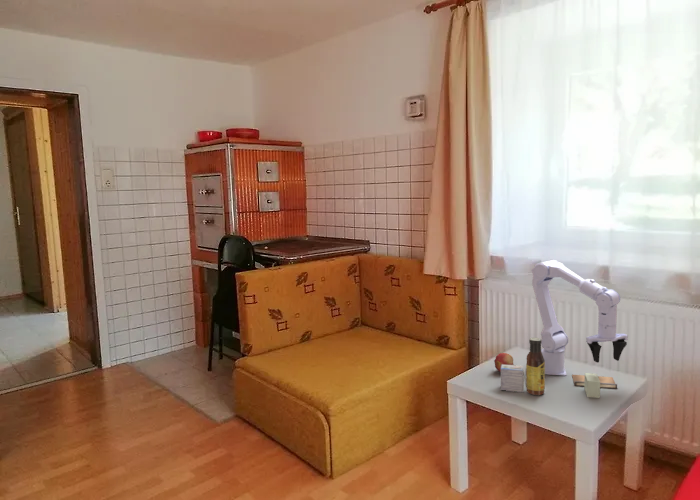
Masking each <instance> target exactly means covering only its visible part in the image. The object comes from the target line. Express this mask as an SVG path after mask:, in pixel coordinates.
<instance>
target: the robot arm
mask: <svg viewBox="0 0 700 500" xmlns="http://www.w3.org/2000/svg"><path fill="white" fill-rule="evenodd" d="M531 272H532V281H531V282H532V283H531V285H532V288H533V291H534V295H535V299H536V304H537V307H538V309H539V314H540V319H541V322H542V325H543V328H542V330H541V332H540V335H541V338H540V339H541V352H542V355H543V358H544V360H545V375H551V376H567V371H566V368H565V367H566V366H565V352H566V351H565V350H566V346H567V345H568V344H569V336H568V335H567V333H566V332H565V329H564V327H563V326H562V325H561V324H559V322H558V318H557V314H556V311H555V307H554V304H553V300H552V296H551V292H550V288H549V285H550V283H551V282H552V280H553V279H554V278H561V279H563V280H565V281H567V282H569V284H572V285H574V286H576V287H578V290H579V292H580V293H581V294H583V295H584V296H586V297H588V298H590V299H591V300H593V301H595V304H596V305H597V307H598V324H597V325H598V326H597V329H598V330H597V334H594V335H593V334H592V335H590V336H586V337H585V339H586V340H585V343H587V346H588V347H589V350H590V352H591V354H592V358H593V361H594V362H595V363H600V353H601V349H602V345H601V344H600V343H602V342H603V343H604V342H612V348H613V350H612V351H613V353H612V354H613V355H612V356H613V357H612V358H613V359H614V360H615V361H617V362H618V361H620V358H621V355H622V352H623V351H624V349H625V348H626V347H627V344H628V342H627V341H628V337H629V335H628V334H626V333H617V314H618V310H617V309H618V306H617V305H619V304H620V303H621V302H620V301H621V296H620V294H619V292H618V291H616V290H615V289H613V288H610V289H608V287H606V286H603V285H601V284H599V283H597V282H596V280H595V279H593V278H586V279H585V278H583V277H582V276H580V275H578V274H577V273H576V272H574V271H572V270H571V269H569V268H568V267H566V266H565V265H564V263H562V262H559V261H558V260H556V259H550V260H547V261H541V262H537V263H536V264H535V265H534V266H533V268H532V269H531Z"/></svg>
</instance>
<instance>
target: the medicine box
mask: <svg viewBox="0 0 700 500" xmlns="http://www.w3.org/2000/svg"><path fill="white" fill-rule="evenodd" d="M501 390H506V391H505V392H514V391H517V393H524V366H523V365H517V364H516V365H515V364H514V365H503V364H502V365H501V372H500V391H501Z"/></svg>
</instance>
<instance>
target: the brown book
mask: <svg viewBox="0 0 700 500" xmlns="http://www.w3.org/2000/svg"><path fill="white" fill-rule="evenodd" d="M571 377H572V381H573V384H574V386H575V387H584V386H585V374H584V375H583V374H572V375H571ZM598 378H599V380H600V389H601V388H604V389H617V390H618V383H616V382H615V380H614V377H612V376H611V377H610V376H602V375H601V376H598Z"/></svg>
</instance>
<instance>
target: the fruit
mask: <svg viewBox="0 0 700 500" xmlns="http://www.w3.org/2000/svg"><path fill="white" fill-rule="evenodd" d="M493 362H494V367H495V369H496V370H497V371H498V372H499V373H501V365H502V364H503V365H515V364H514V357H513V356H512V355H511V354H510V353H507V352H500V353H498V354H496V356H495V358H494V360H493Z"/></svg>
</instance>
